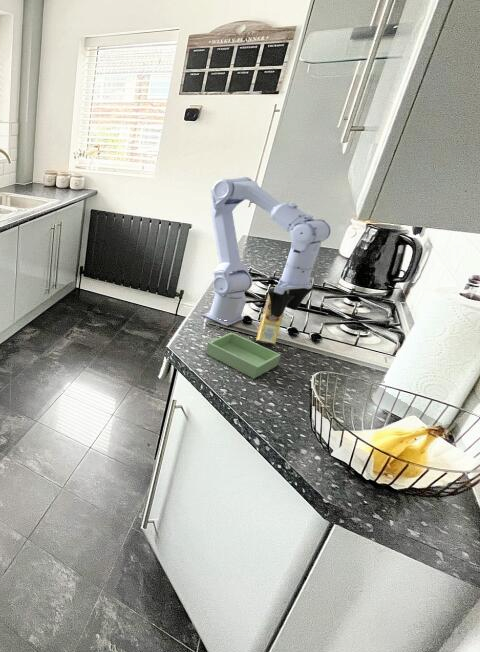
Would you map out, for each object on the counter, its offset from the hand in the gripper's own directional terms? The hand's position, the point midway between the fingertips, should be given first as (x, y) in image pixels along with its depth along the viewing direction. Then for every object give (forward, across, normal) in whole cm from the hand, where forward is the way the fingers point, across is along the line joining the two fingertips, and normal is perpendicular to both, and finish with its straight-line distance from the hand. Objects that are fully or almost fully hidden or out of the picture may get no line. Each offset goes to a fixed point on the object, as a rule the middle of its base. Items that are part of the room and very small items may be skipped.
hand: (283, 311), depth 116 cm
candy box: (+9, -4, +1) cm, 10 cm away
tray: (+11, -15, +1) cm, 18 cm away
